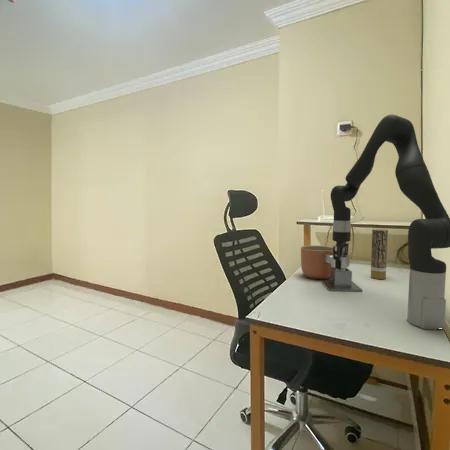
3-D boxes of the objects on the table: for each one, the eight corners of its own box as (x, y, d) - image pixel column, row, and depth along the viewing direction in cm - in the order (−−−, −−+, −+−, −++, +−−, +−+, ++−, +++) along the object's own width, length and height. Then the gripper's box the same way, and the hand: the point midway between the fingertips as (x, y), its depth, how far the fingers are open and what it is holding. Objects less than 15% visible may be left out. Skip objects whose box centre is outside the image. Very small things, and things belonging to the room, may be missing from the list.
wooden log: (387, 280, 140) (390, 229, 138) (372, 279, 141) (374, 229, 139) (383, 276, 146) (385, 228, 144) (368, 275, 148) (370, 228, 146)
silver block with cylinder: (348, 279, 129) (349, 255, 128) (344, 282, 125) (345, 257, 124) (328, 275, 135) (329, 252, 134) (324, 278, 131) (324, 254, 130)
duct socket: (362, 291, 122) (362, 273, 121) (328, 290, 123) (328, 272, 123) (351, 282, 135) (352, 266, 135) (321, 281, 137) (321, 265, 136)
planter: (305, 271, 158) (306, 244, 156) (338, 275, 149) (339, 246, 147) (295, 278, 143) (296, 248, 142) (331, 283, 134) (331, 251, 133)
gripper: (345, 232, 119) (343, 271, 121) (355, 229, 130) (354, 265, 132) (327, 231, 124) (326, 269, 125) (338, 228, 135) (337, 263, 136)
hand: (340, 267), depth 129 cm, fingers closed on silver block with cylinder, 6 cm apart
